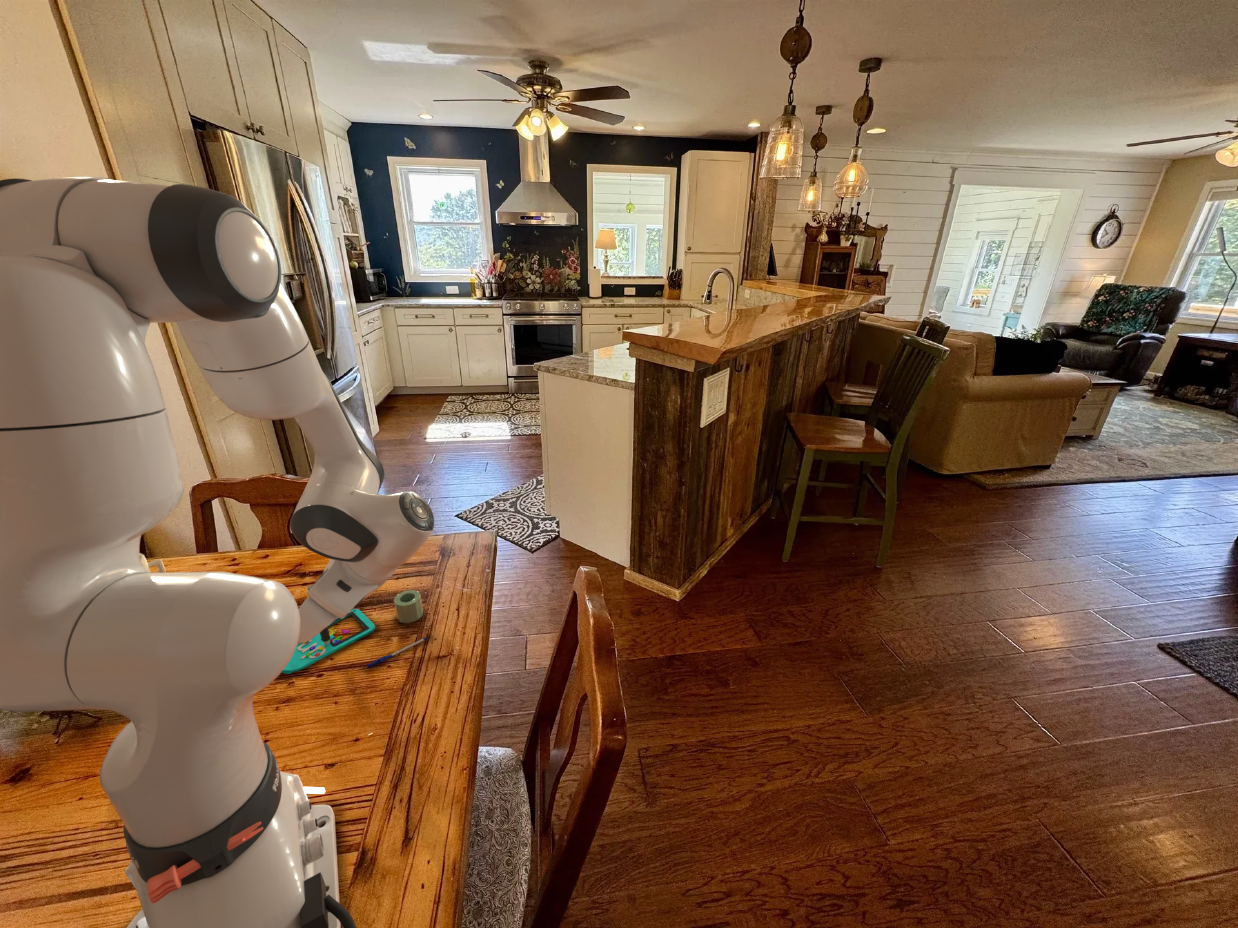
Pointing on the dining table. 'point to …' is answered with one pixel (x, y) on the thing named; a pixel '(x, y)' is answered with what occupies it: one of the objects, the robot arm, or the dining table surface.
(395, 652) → the ballpoint pen
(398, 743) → the dining table surface
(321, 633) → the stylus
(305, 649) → the handheld gaming console
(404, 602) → the green hollow cylinder
